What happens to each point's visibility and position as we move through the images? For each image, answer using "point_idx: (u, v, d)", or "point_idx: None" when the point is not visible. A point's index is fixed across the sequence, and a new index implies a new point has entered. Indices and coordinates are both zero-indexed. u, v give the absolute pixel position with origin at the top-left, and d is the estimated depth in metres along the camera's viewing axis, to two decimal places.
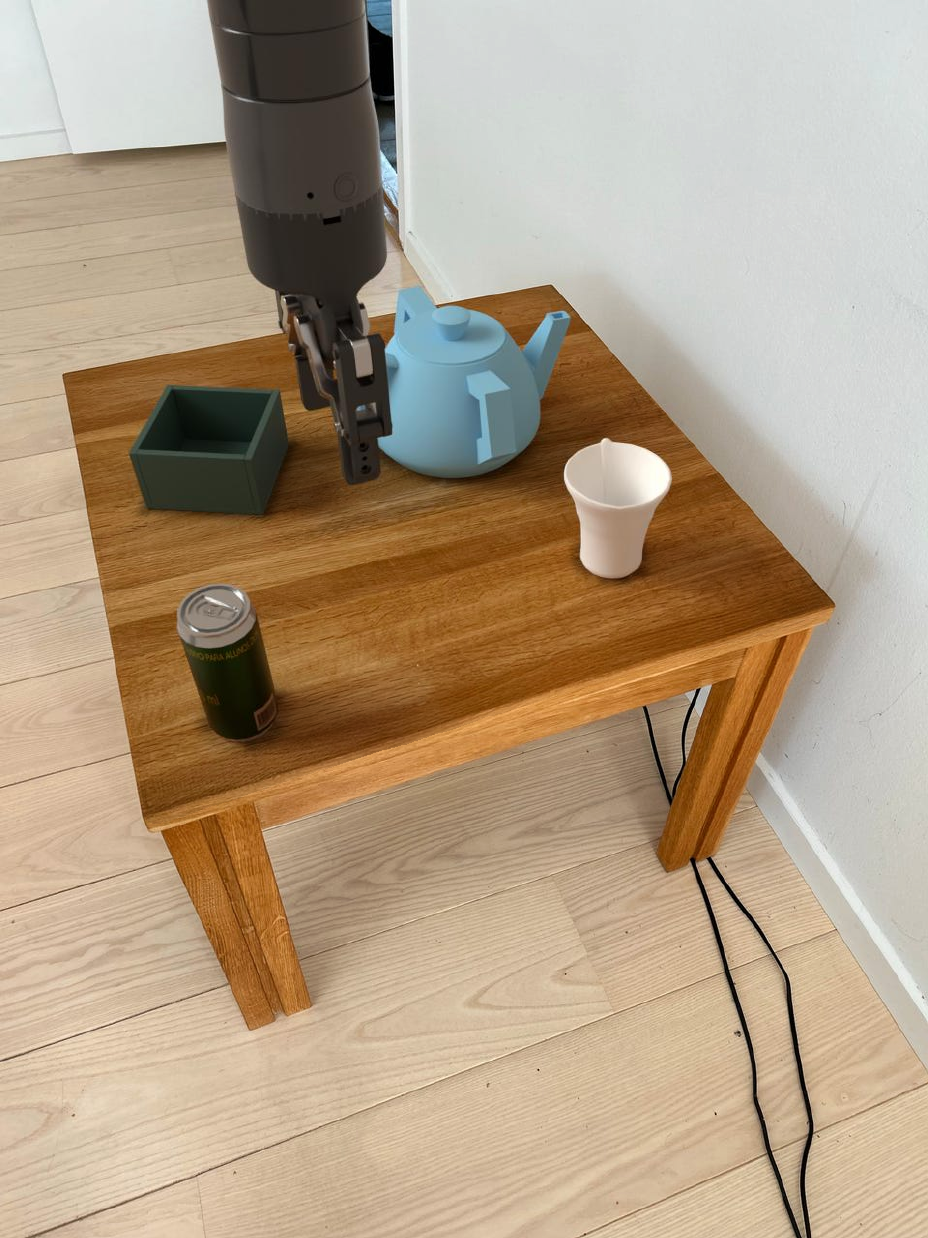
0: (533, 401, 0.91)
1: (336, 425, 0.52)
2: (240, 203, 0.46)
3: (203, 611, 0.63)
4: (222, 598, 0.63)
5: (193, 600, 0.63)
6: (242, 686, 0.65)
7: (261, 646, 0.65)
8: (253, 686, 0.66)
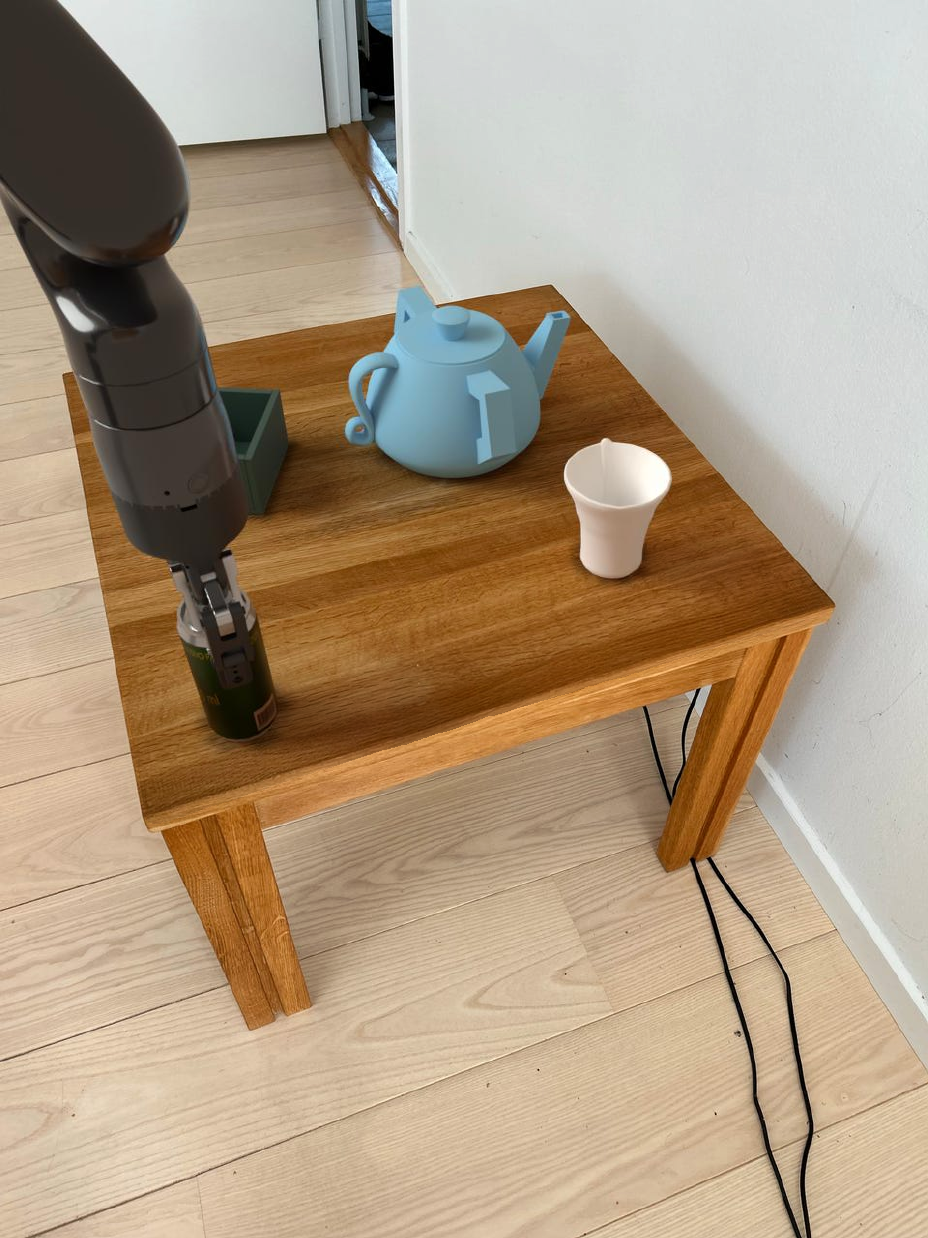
0: (533, 401, 0.91)
1: (207, 651, 0.60)
2: (110, 490, 0.53)
3: None
4: None
5: (193, 600, 0.63)
6: (242, 685, 0.65)
7: (261, 646, 0.65)
8: (253, 686, 0.66)
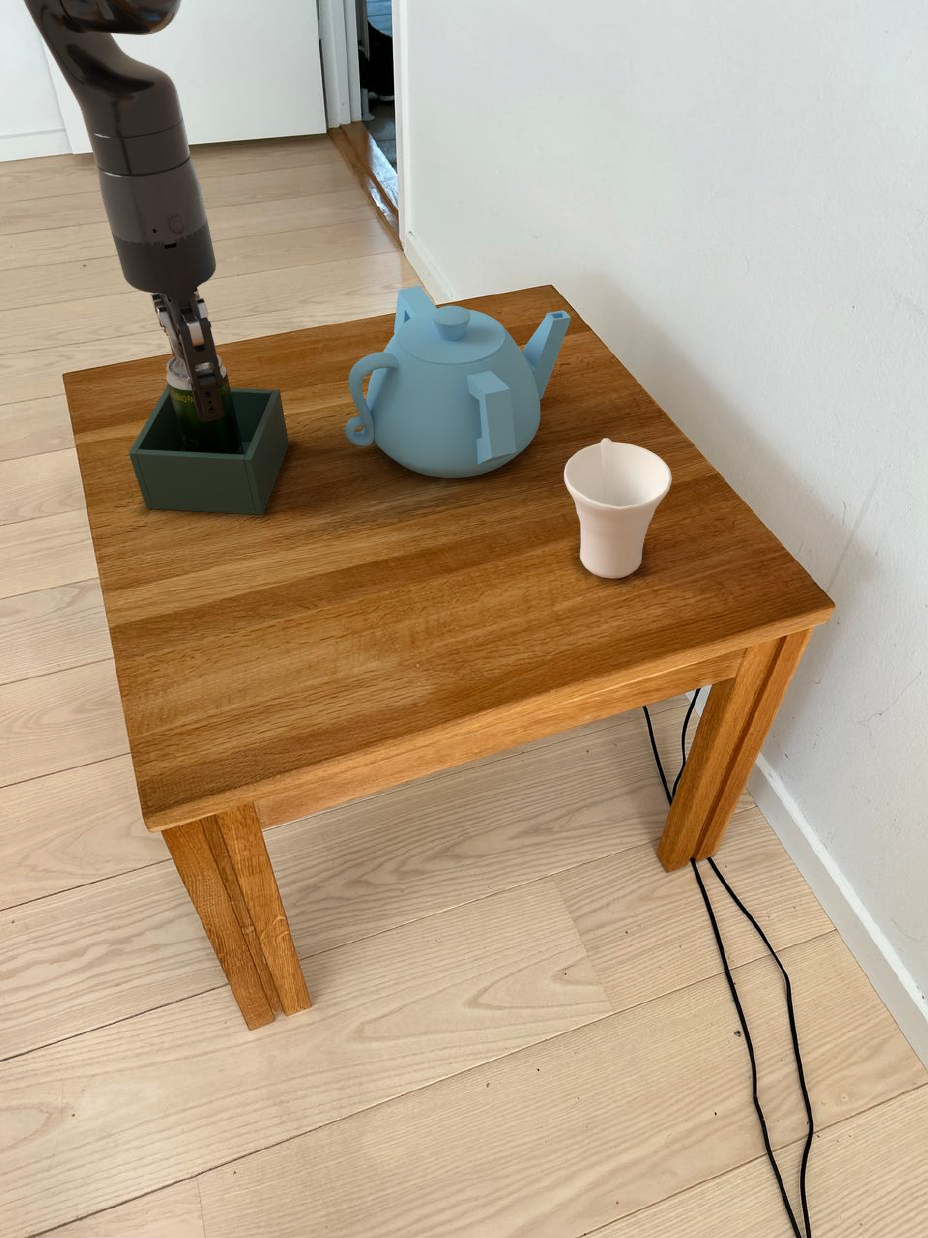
0: (533, 401, 0.91)
1: (187, 379, 0.79)
2: (113, 235, 0.73)
3: None
4: None
5: None
6: (216, 429, 0.85)
7: (230, 399, 0.86)
8: (225, 432, 0.86)
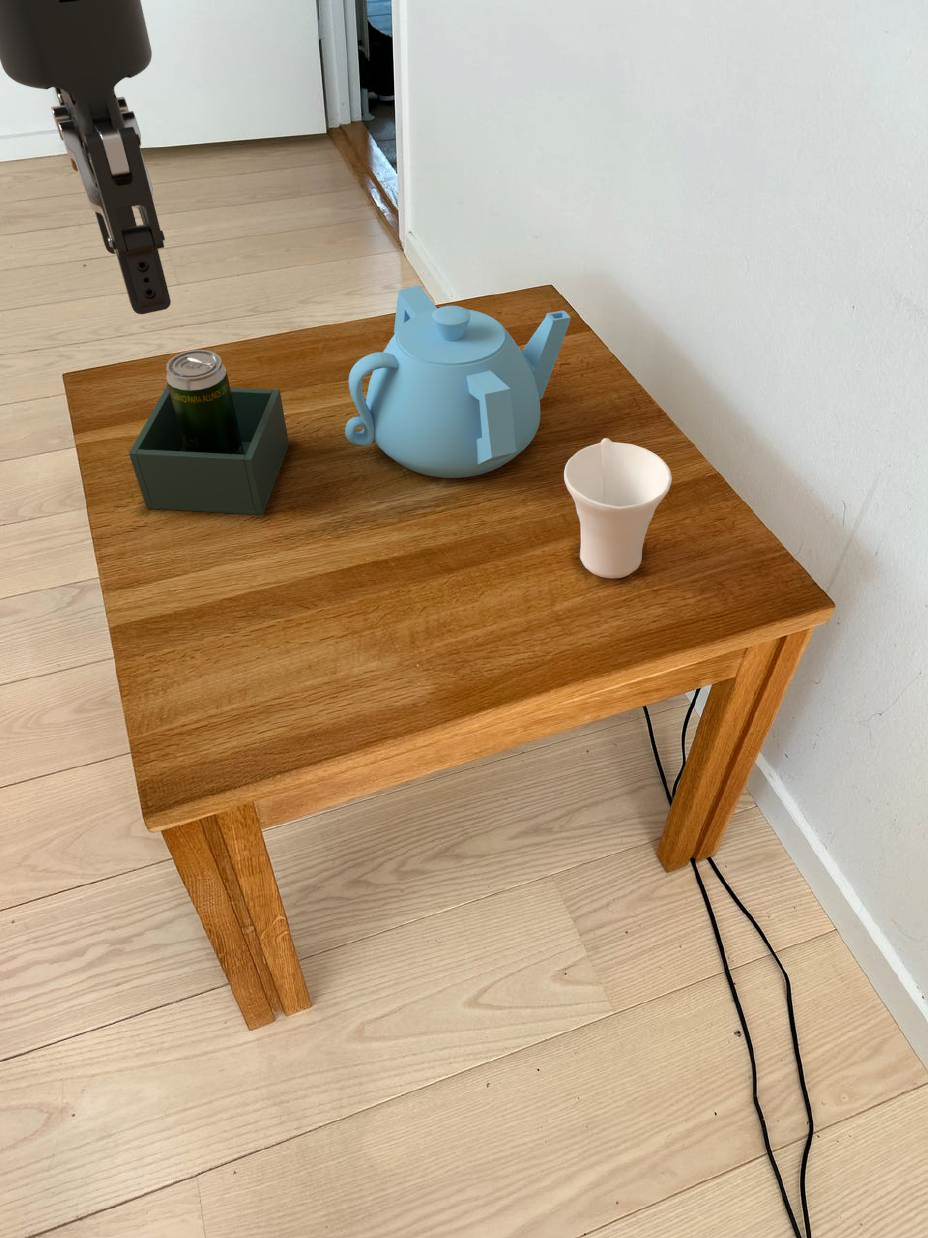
0: (533, 401, 0.91)
1: (109, 240, 0.50)
2: None
3: (186, 366, 0.83)
4: (201, 358, 0.84)
5: (178, 359, 0.84)
6: (216, 429, 0.85)
7: (230, 400, 0.86)
8: (225, 432, 0.86)
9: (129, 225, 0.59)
